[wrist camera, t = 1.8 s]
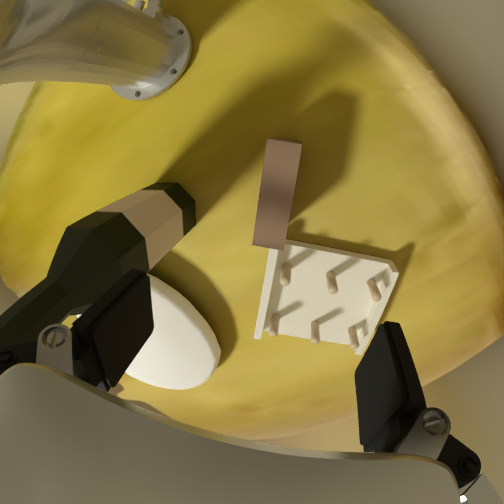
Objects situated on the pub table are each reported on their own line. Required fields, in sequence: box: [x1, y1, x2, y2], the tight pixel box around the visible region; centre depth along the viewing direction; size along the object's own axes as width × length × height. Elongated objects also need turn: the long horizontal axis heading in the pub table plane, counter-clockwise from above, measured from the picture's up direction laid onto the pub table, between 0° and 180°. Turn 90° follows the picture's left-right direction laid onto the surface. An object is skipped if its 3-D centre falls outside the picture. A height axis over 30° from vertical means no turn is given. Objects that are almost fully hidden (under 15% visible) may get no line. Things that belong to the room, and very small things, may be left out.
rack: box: [254, 239, 399, 355], centre depth 34 cm, size 14×16×5 cm
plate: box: [77, 273, 221, 389], centre depth 43 cm, size 28×6×27 cm
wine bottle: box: [0, 183, 196, 349], centre depth 21 cm, size 8×8×30 cm
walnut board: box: [252, 137, 302, 251], centre depth 27 cm, size 10×3×8 cm, turn 173°
